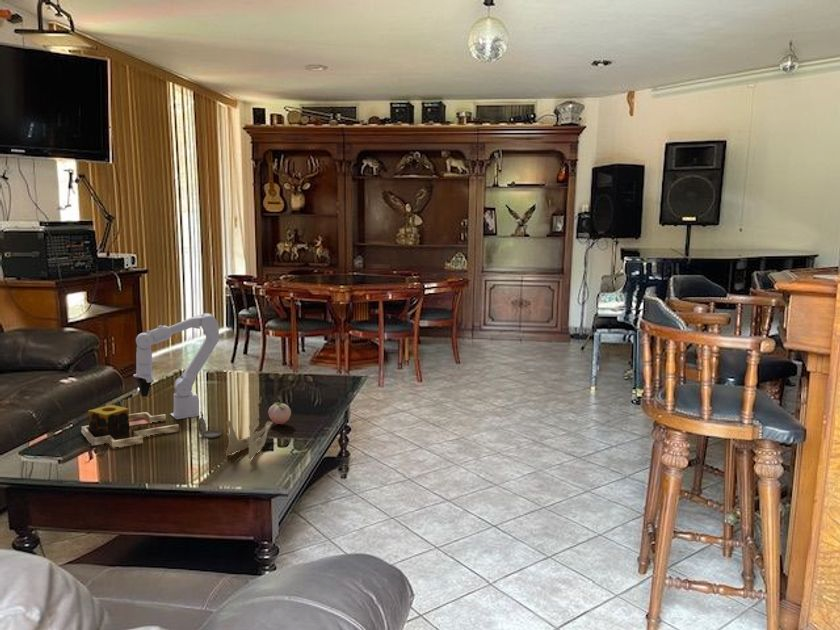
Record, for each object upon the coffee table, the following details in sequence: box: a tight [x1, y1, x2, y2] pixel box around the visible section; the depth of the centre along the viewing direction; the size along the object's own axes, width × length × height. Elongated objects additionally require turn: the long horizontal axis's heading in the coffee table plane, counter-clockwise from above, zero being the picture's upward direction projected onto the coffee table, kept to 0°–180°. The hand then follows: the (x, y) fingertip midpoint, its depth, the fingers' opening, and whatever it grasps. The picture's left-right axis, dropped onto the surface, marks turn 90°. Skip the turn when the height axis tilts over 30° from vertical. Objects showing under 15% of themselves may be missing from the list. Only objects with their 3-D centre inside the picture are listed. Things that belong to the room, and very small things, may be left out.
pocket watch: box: [197, 411, 222, 439], centre depth 229 cm, size 8×8×10 cm
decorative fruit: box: [267, 401, 292, 425], centre depth 246 cm, size 9×8×10 cm
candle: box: [87, 404, 131, 440], centre depth 224 cm, size 10×10×10 cm
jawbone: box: [225, 420, 274, 460], centre depth 219 cm, size 25×10×14 cm, turn 167°
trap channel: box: [81, 411, 180, 449], centre depth 229 cm, size 30×29×2 cm
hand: (144, 396), depth 244 cm, fingers closed
